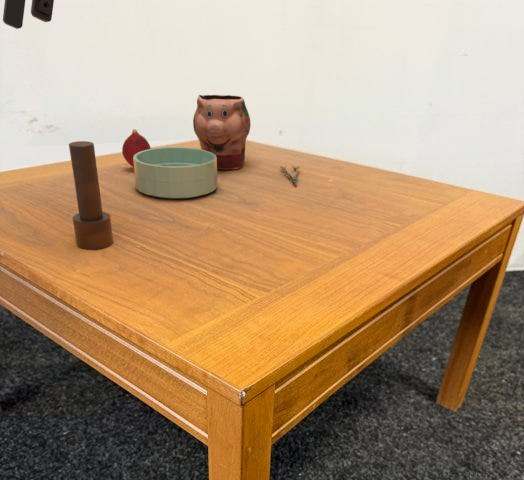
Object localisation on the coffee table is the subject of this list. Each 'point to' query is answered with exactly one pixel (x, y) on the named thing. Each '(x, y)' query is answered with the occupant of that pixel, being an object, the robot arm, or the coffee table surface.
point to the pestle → (88, 199)
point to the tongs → (290, 174)
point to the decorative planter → (222, 128)
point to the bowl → (175, 172)
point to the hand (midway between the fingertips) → (25, 22)
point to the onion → (134, 146)
